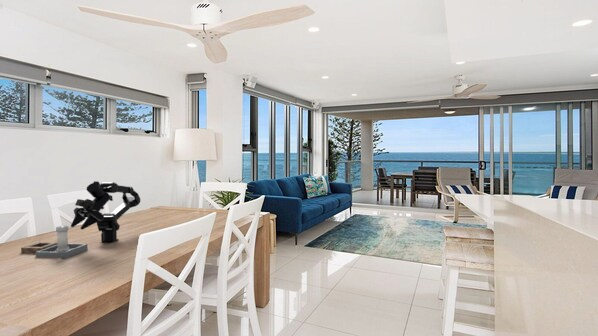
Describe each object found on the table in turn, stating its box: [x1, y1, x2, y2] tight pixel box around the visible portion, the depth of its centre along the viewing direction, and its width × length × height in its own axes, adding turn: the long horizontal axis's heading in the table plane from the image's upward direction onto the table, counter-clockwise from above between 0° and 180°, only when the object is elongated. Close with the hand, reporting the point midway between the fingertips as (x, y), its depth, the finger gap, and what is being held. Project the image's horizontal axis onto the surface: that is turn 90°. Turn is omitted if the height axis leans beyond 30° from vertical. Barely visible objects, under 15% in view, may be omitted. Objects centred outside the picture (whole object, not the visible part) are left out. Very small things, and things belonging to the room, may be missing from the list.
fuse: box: [55, 225, 69, 252], centre depth 151 cm, size 5×5×12 cm
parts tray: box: [35, 242, 88, 260], centre depth 151 cm, size 14×14×3 cm
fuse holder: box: [20, 241, 57, 254], centre depth 155 cm, size 10×10×3 cm
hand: (76, 227), depth 156 cm, fingers open, 9 cm apart
